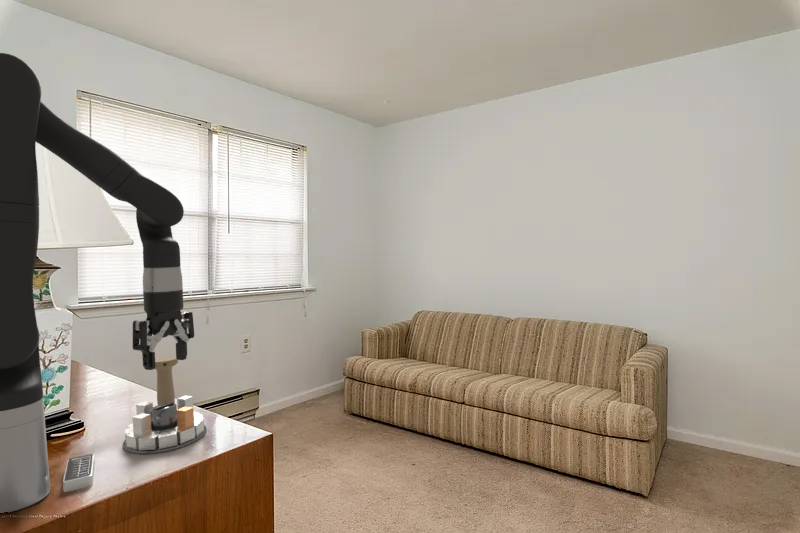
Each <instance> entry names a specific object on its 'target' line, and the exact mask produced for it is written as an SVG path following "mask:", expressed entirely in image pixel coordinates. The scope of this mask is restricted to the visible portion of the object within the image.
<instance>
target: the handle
mask: <svg viewBox="0 0 800 533" xmlns="http://www.w3.org/2000/svg"><path fill="white" fill-rule="evenodd" d="M177 364H179V360H177V359H176V355H174V356H164V357H157V358H155V369H154V370H156V401H157V402H156V403H157V405H161V404H166V403H171V402H174V404H176V401H175V400H176V397H175V389H174V388H175V387H174V381H173V380H174V379H173V367H174V366H176V365H177Z"/></svg>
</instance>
